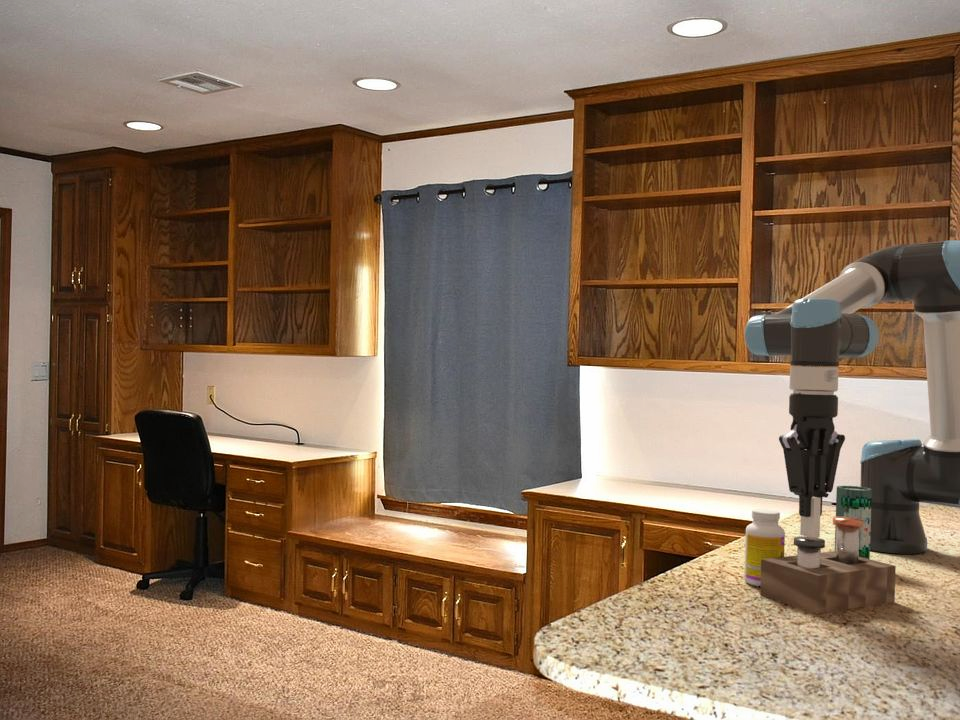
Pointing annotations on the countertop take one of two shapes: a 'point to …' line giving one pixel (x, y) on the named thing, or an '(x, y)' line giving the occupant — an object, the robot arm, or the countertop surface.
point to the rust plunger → (847, 539)
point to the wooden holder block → (828, 583)
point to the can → (856, 512)
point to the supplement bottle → (762, 542)
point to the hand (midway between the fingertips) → (809, 536)
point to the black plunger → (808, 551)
